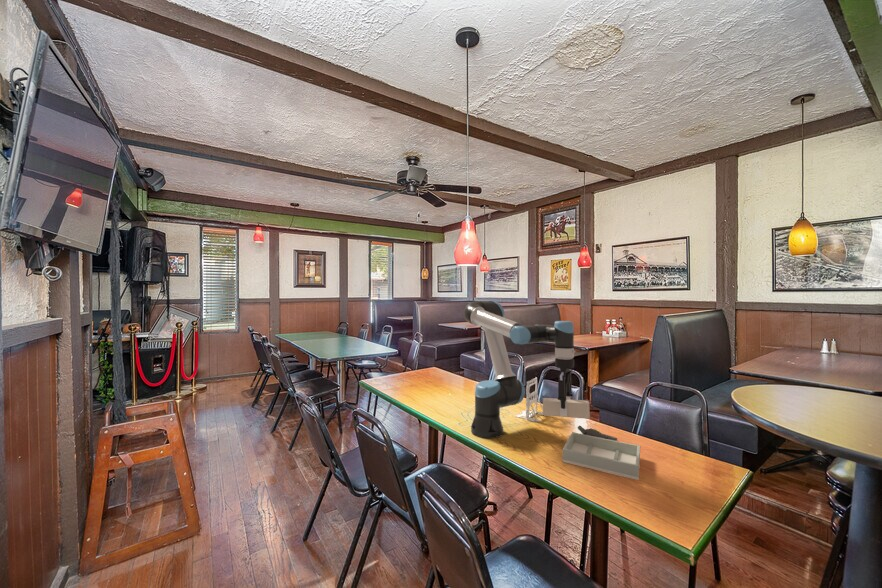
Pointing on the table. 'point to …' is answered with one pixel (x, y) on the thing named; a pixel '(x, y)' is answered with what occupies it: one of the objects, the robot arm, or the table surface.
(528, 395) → the film strip holder
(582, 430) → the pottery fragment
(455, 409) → the table surface
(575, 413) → the beige rectangular block
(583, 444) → the divided grey tray
